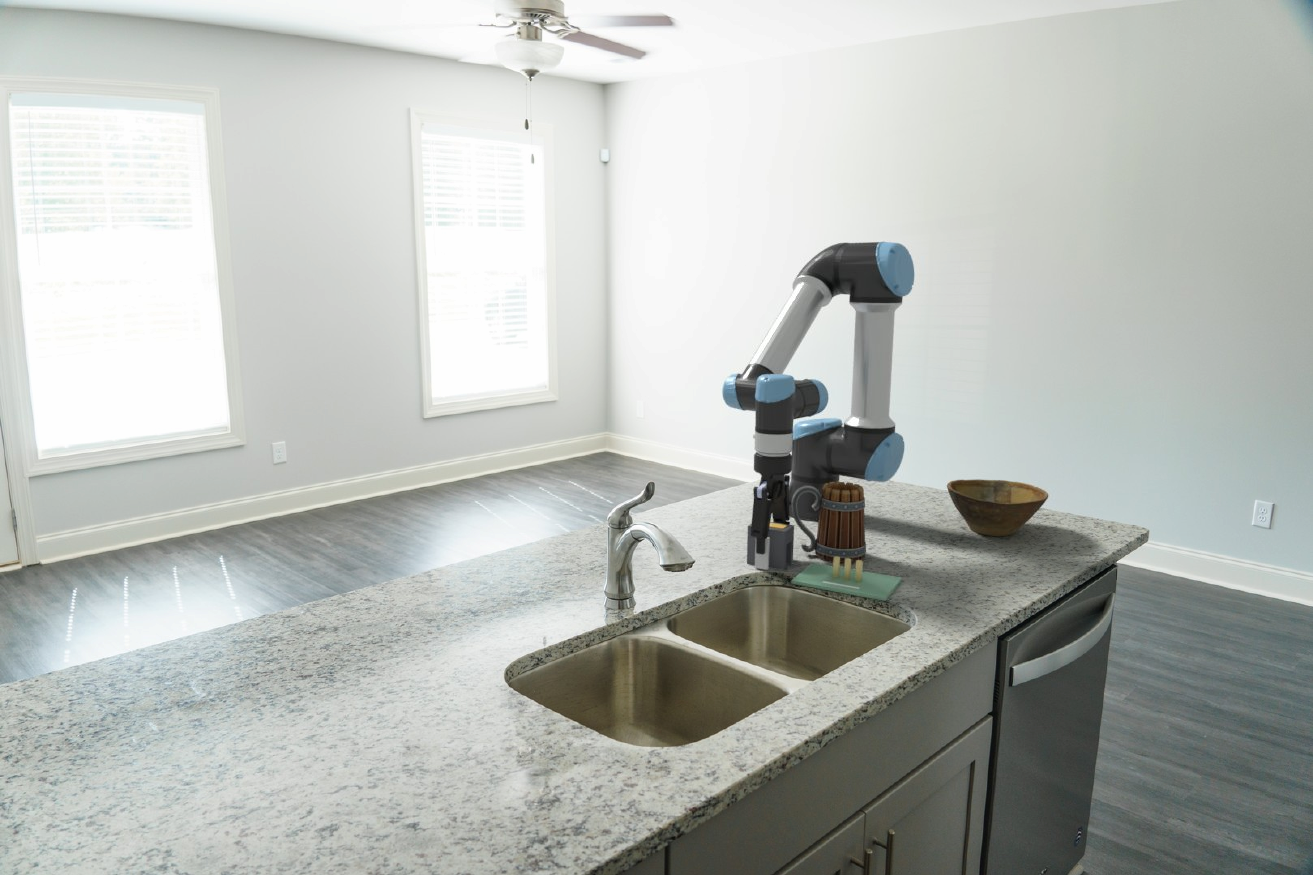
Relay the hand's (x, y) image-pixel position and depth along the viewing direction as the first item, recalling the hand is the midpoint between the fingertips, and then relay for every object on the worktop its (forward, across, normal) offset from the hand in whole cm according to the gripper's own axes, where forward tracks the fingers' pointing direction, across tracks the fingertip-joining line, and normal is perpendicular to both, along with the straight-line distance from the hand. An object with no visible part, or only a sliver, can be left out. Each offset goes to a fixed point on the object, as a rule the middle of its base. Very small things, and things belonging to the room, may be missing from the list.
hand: (769, 562), depth 180 cm
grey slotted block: (0, 0, 0) cm, 0 cm away
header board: (0, +3, +17) cm, 17 cm away
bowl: (0, -47, +36) cm, 59 cm away
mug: (0, -11, +9) cm, 14 cm away
